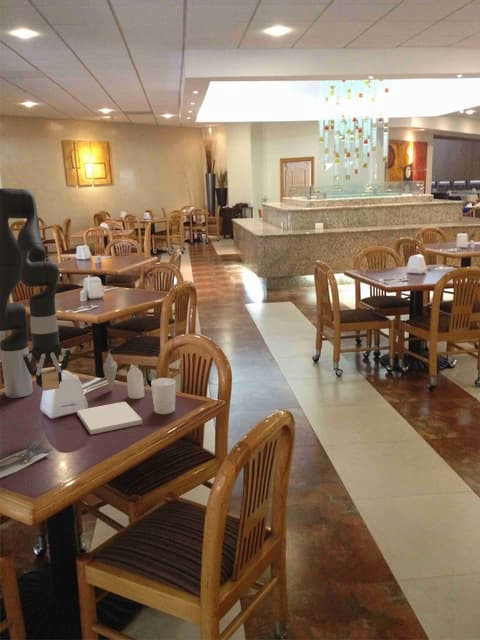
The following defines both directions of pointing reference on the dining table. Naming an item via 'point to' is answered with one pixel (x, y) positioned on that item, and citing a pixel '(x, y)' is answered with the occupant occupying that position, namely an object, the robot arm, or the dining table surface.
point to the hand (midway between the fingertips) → (49, 384)
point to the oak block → (49, 378)
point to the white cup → (163, 395)
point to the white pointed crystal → (135, 383)
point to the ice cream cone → (110, 370)
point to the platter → (108, 417)
